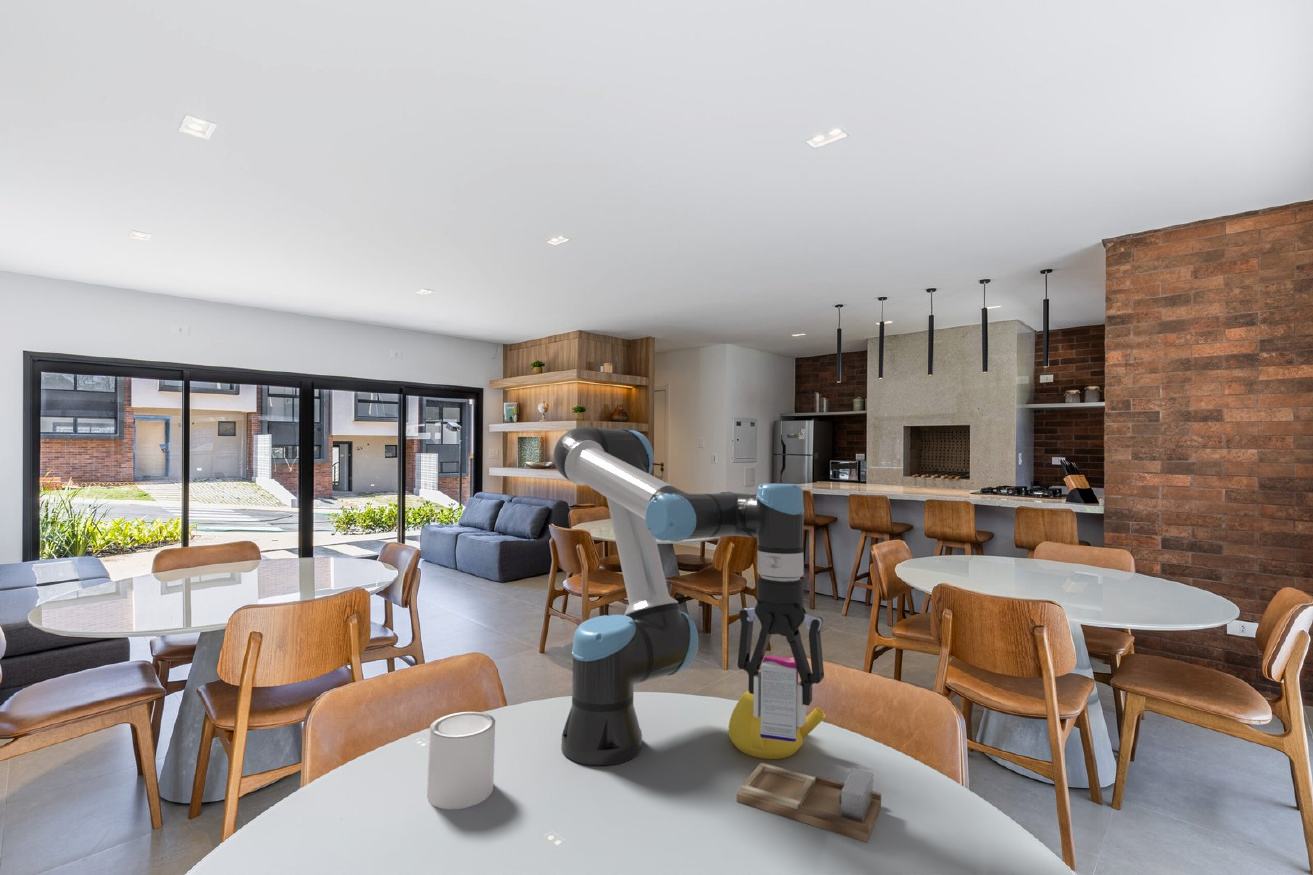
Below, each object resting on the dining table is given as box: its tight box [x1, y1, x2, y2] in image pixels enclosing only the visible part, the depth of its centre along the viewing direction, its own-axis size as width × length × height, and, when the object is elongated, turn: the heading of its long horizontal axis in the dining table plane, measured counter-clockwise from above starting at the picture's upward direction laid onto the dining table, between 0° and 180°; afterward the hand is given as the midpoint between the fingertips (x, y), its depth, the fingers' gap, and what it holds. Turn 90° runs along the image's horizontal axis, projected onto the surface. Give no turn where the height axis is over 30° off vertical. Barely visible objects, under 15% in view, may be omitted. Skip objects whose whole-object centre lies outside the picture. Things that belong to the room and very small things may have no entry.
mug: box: [426, 711, 496, 810], centre depth 100 cm, size 14×10×11 cm
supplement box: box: [760, 655, 799, 742], centre depth 99 cm, size 6×6×12 cm
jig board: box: [736, 762, 882, 843], centre depth 96 cm, size 20×11×2 cm, turn 60°
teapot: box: [727, 689, 827, 760], centre depth 116 cm, size 20×18×11 cm
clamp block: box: [839, 767, 874, 823], centre depth 93 cm, size 4×8×4 cm, turn 150°
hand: (779, 718), depth 99 cm, fingers closed on supplement box, 7 cm apart
